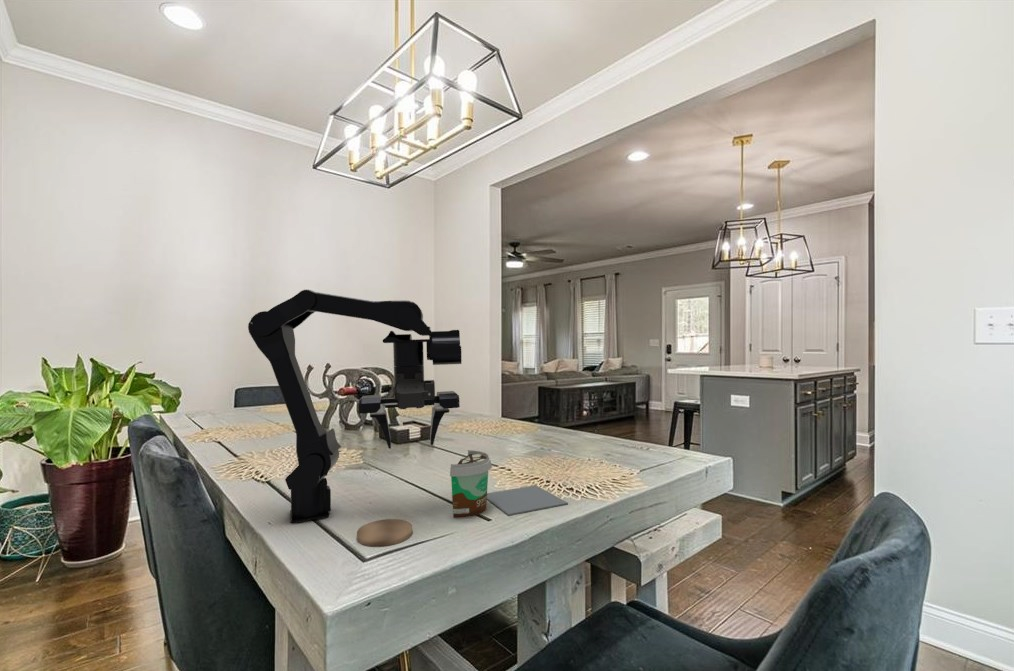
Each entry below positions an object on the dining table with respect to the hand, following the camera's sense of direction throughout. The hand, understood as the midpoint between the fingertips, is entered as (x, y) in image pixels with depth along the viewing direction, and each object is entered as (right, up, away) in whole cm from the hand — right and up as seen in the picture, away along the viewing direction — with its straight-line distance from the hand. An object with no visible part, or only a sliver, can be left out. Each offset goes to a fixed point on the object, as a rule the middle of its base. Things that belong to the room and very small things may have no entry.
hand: (410, 446), depth 91 cm
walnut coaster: (-2, -12, -12) cm, 17 cm away
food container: (+13, -12, -1) cm, 18 cm away
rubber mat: (+22, -12, +4) cm, 25 cm away
